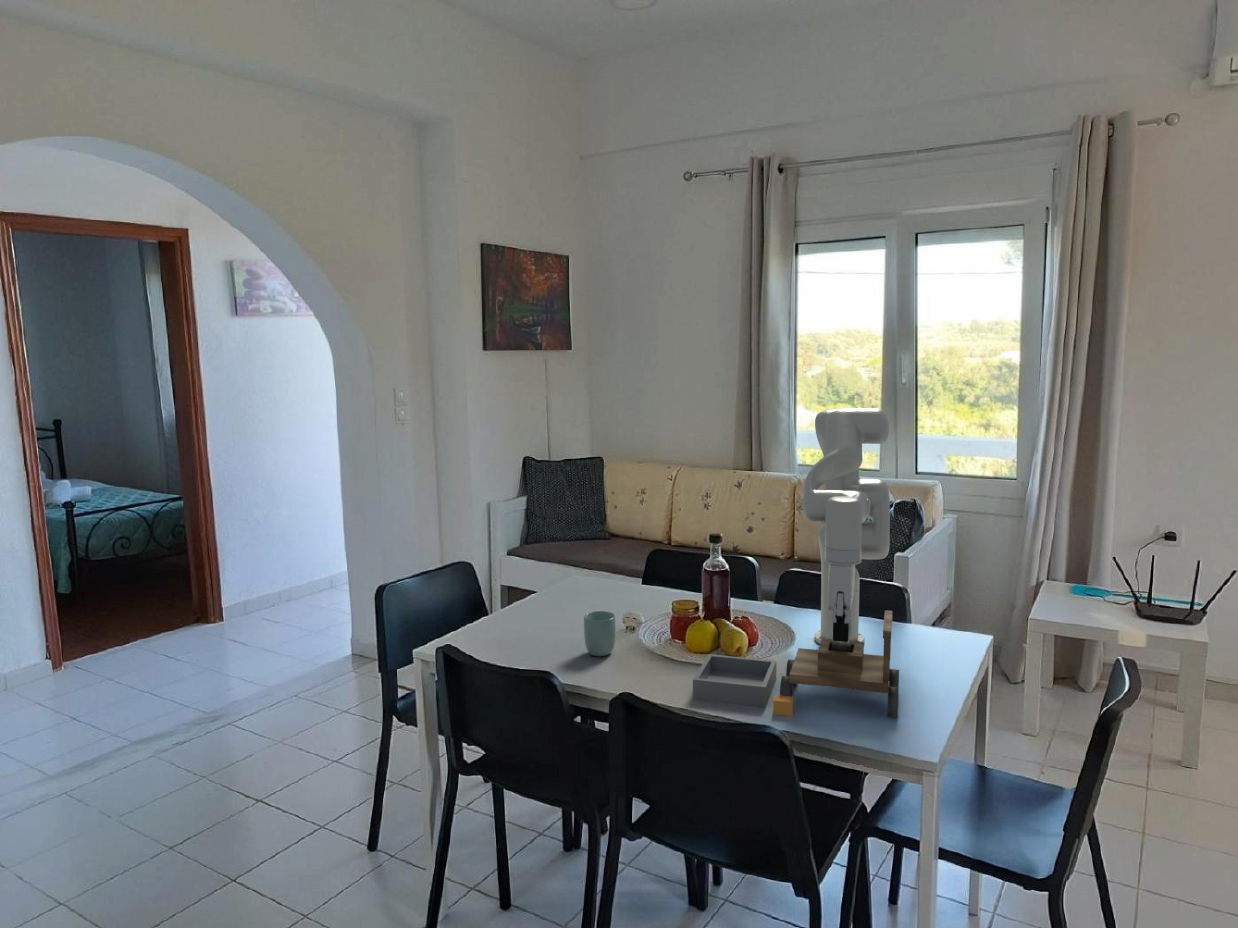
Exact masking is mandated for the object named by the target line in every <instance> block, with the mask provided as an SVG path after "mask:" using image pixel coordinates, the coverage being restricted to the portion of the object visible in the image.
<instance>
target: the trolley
mask: <svg viewBox="0 0 1238 928" xmlns="http://www.w3.org/2000/svg"><path fill="white" fill-rule="evenodd" d="M892 629H893V610H884V616H883V627H882V639H883V655H878V654H877V655H876V654H868V653H864V652H865V651H864V649H865V641H864V642H856V641H851V652H841V651H832V639H822V640H821V643H820V644H819V648H818V649H810V648H800V647H799V648H798V649H797V651H796V654H795V657H794V659H787V662H786V668H785V669H786V672H785V675H782V676H781V679H780V687H779V695H781V696H790V697H793V695H794V694H793V692H794V688H797V686H798V685H807V686H816V687H825V688H827V687H828V688H835V689H844V690H845V689H846V690H854V691H865V692H873V693H874V692H875V693H886V694H887V717H893V718H894V717H895V718H898V717H899V713H898V712H899V688H900V687H899V684H900V683H899V682H900V670H899V669H892V668H890V667H891V664H890V663H891V645H892V644H891V642H892Z"/></svg>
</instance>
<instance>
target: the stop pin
mask: <svg viewBox="0 0 1238 928" xmlns="http://www.w3.org/2000/svg"><path fill="white" fill-rule="evenodd" d="M843 609H845V608H843ZM843 614H844V615H845V612H843ZM833 622H834V609H833V610H832V651H841V652H851V610H849V611H848V619H847V623H849V635H848V642H841V641H834V640H833Z"/></svg>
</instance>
